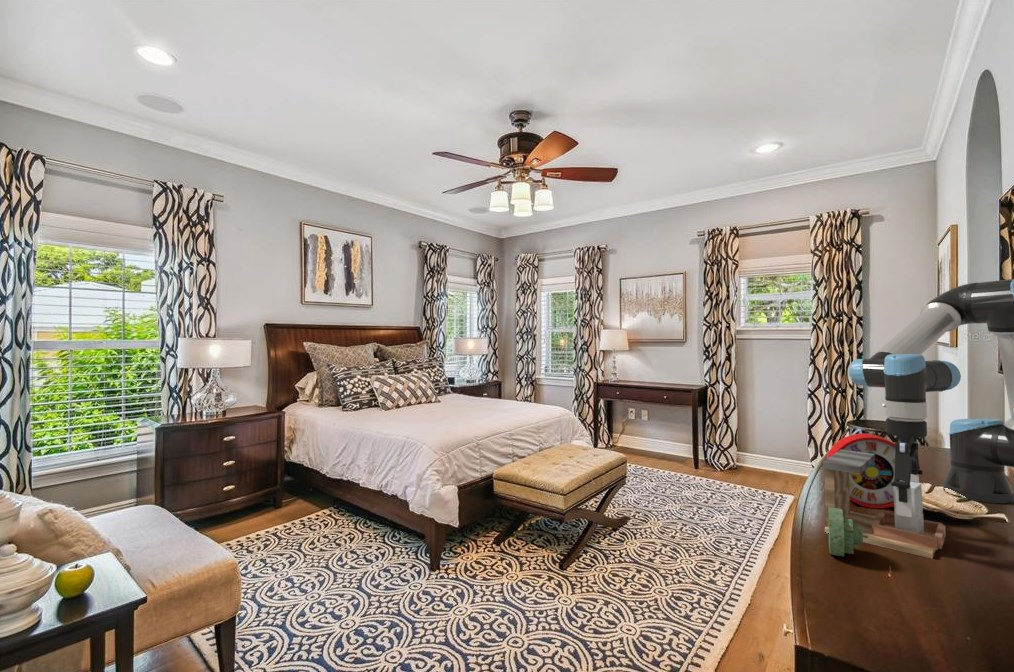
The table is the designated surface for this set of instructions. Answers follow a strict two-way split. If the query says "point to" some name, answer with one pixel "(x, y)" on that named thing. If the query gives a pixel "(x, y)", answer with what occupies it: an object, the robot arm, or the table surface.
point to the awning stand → (884, 523)
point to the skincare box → (916, 520)
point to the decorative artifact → (842, 533)
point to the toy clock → (870, 470)
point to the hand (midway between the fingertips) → (908, 507)
